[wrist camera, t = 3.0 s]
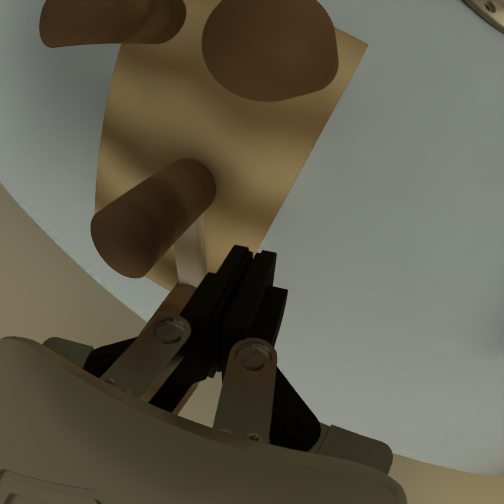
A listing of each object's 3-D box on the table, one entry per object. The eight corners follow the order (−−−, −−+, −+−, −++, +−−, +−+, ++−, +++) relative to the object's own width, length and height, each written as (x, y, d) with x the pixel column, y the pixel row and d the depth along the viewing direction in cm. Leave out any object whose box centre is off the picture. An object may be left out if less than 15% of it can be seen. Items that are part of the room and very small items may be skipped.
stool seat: (161, -12, 12) (51, -33, 4) (365, 49, 12) (393, 7, 4) (106, 233, 26) (42, 292, 18) (227, 303, 26) (182, 388, 18)
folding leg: (219, 313, 23) (183, 381, 18) (181, 301, 24) (139, 363, 18) (216, 161, 16) (143, 216, 10) (163, 156, 16) (83, 204, 11)
